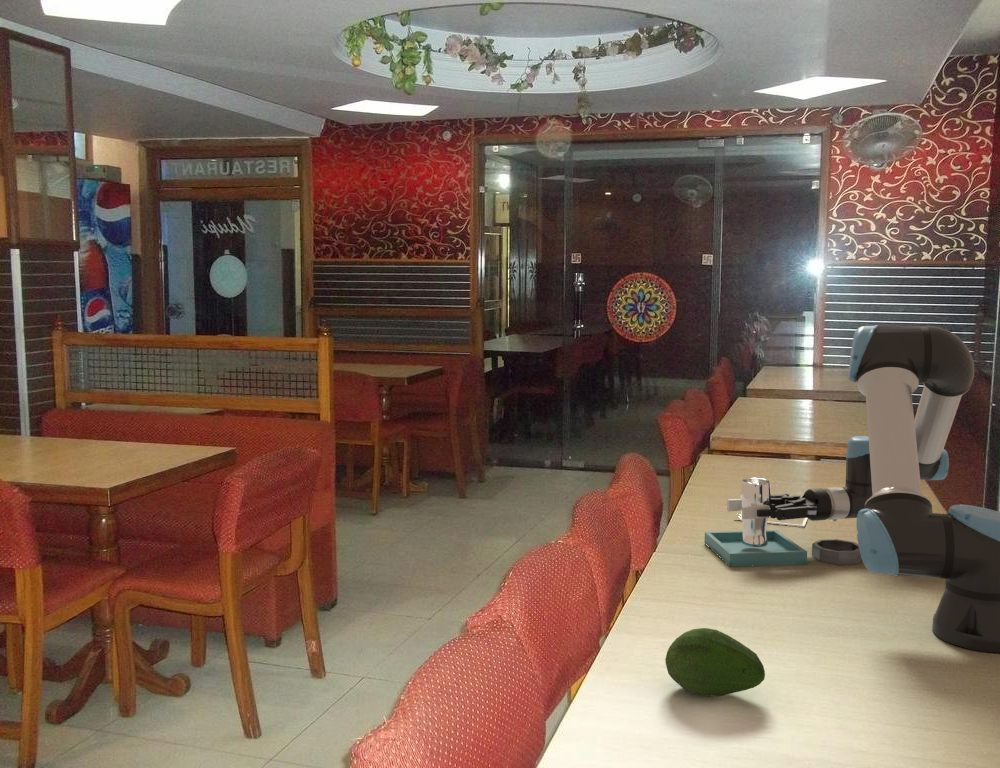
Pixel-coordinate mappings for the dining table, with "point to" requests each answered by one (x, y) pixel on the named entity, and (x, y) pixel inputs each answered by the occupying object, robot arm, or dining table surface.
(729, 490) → the dining table surface
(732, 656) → the fruit
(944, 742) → the dining table surface
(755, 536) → the silver metal tumbler
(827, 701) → the dining table surface
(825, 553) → the holder ring
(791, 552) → the tray
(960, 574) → the robot arm
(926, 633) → the dining table surface
